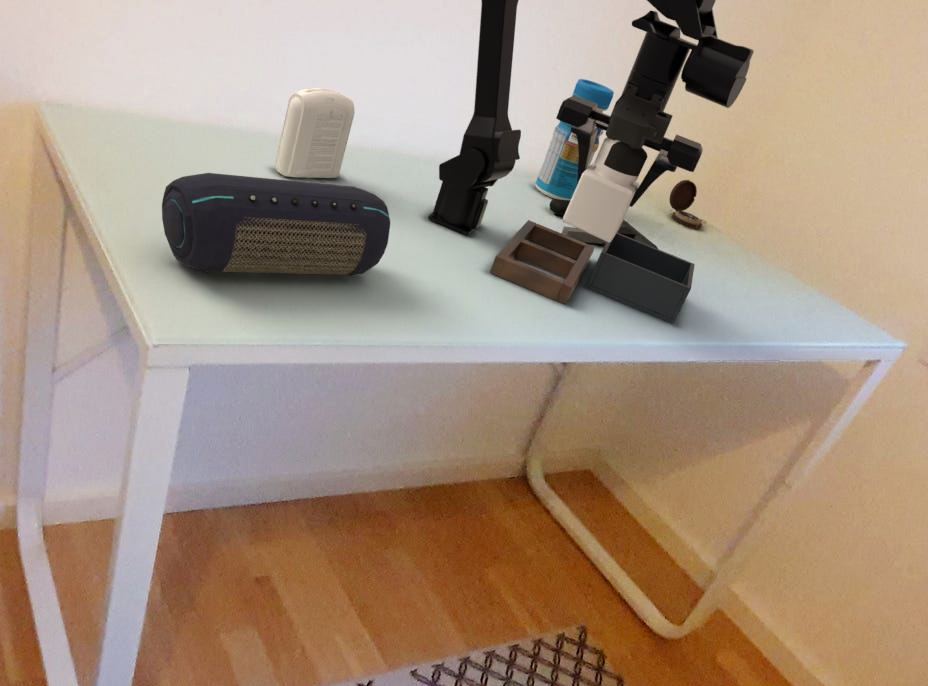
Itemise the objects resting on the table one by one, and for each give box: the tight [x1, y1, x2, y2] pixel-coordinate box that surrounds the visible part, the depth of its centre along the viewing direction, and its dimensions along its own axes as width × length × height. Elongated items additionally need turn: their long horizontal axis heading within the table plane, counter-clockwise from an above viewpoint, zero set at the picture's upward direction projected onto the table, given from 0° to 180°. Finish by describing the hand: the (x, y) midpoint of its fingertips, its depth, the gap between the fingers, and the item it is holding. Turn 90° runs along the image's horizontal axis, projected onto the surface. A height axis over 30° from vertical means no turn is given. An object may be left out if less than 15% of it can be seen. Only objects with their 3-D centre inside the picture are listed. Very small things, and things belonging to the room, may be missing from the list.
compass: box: [668, 179, 707, 230], centre depth 168 cm, size 8×8×7 cm
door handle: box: [549, 198, 659, 249], centre depth 142 cm, size 3×20×16 cm
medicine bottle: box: [562, 136, 648, 242], centre depth 113 cm, size 7×7×12 cm
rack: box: [489, 219, 596, 305], centre depth 121 cm, size 11×21×2 cm, turn 162°
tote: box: [585, 233, 695, 325], centre depth 123 cm, size 13×12×6 cm
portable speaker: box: [161, 172, 391, 277], centre depth 92 cm, size 25×10×10 cm, turn 122°
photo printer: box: [274, 87, 355, 179], centre depth 121 cm, size 10×4×12 cm, turn 134°
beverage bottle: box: [534, 78, 614, 200], centre depth 152 cm, size 8×8×20 cm
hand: (604, 195), depth 114 cm, fingers closed on medicine bottle, 7 cm apart
